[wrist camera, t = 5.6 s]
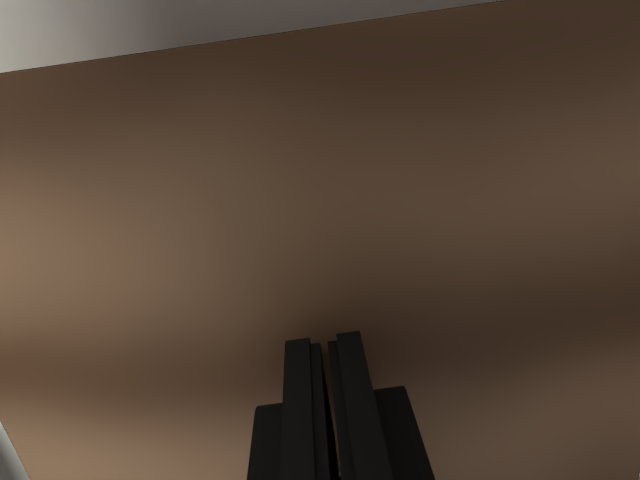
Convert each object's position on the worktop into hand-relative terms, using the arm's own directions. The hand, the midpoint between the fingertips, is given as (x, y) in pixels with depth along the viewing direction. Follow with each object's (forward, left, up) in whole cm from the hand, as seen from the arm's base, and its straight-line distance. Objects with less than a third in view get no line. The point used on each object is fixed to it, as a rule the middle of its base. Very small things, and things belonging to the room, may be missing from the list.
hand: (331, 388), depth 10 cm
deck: (+4, 0, -3) cm, 5 cm away
